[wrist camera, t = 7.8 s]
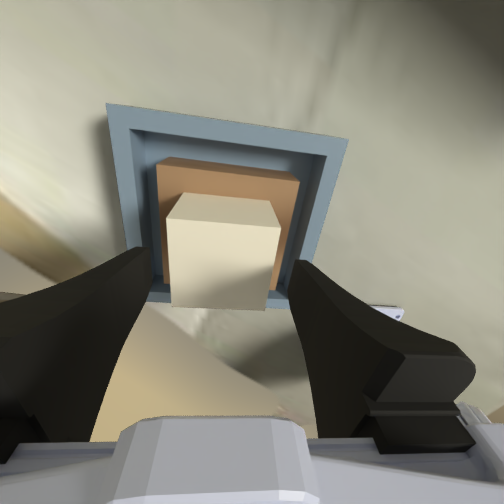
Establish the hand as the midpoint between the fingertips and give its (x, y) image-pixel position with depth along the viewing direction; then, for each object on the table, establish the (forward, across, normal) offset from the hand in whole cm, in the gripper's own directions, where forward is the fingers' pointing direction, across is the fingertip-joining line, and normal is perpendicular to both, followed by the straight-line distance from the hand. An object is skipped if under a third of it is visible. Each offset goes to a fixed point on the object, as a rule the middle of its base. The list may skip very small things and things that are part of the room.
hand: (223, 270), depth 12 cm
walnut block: (+7, 0, 0) cm, 7 cm away
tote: (+8, 0, 0) cm, 8 cm away
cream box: (+4, 0, 0) cm, 4 cm away
